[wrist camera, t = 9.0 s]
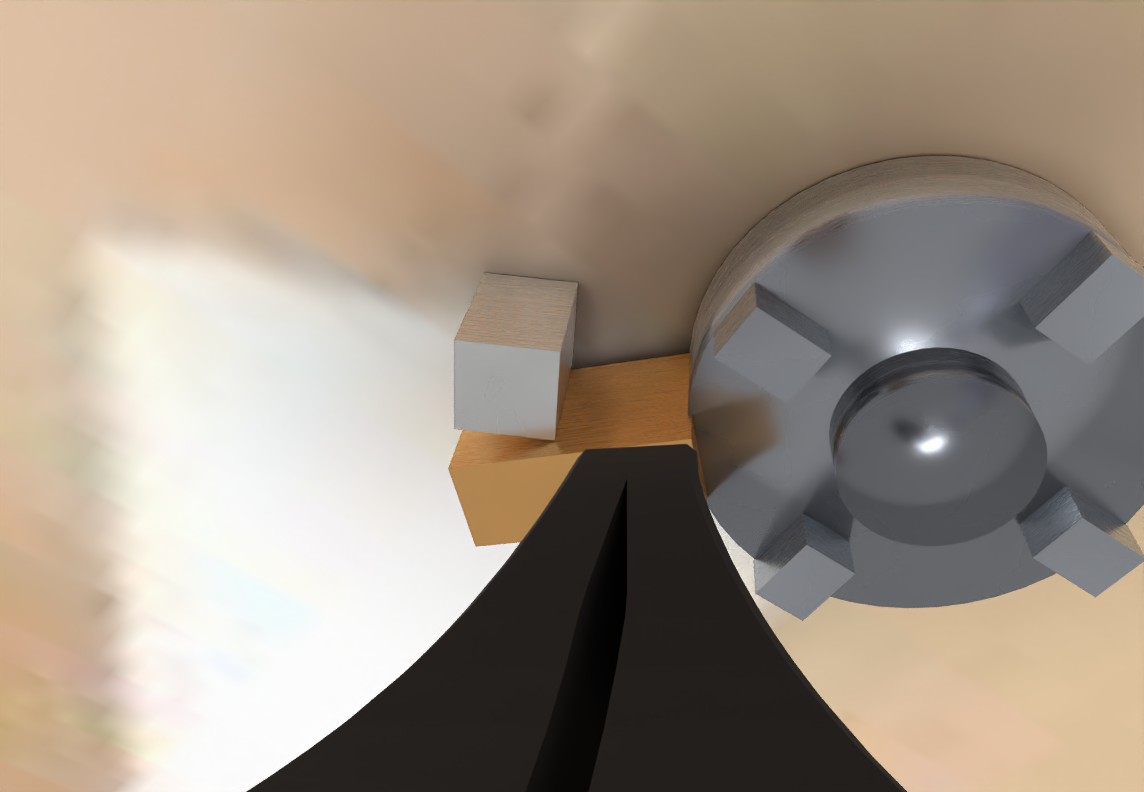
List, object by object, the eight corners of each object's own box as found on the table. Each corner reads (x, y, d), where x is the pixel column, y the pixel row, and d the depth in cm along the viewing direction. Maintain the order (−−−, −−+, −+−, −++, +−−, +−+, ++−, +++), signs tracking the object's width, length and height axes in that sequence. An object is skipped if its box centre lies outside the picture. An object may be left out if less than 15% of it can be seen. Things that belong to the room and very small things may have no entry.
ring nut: (1153, 113, 18) (1248, 185, 15) (1126, 511, 22) (1195, 631, 19) (435, 238, 21) (387, 320, 17) (539, 567, 25) (514, 680, 22)
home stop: (690, 278, 21) (688, 348, 18) (683, 455, 23) (681, 539, 20) (471, 272, 21) (439, 339, 19) (486, 446, 23) (459, 527, 21)
